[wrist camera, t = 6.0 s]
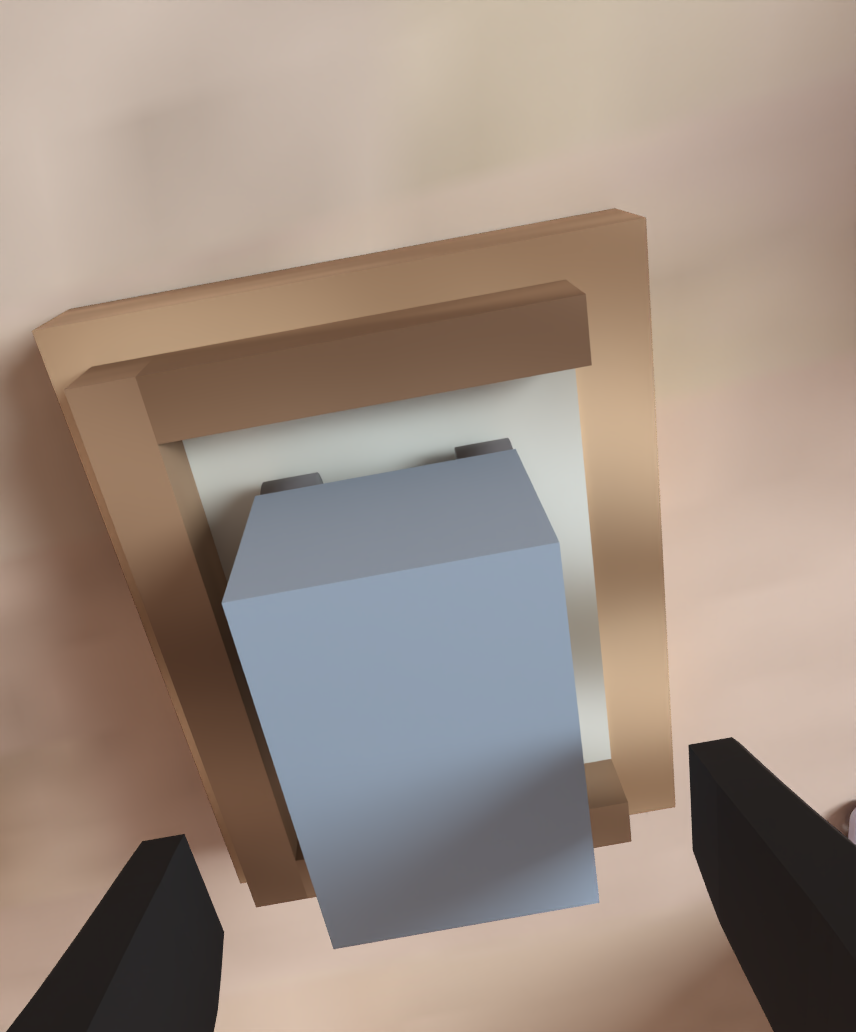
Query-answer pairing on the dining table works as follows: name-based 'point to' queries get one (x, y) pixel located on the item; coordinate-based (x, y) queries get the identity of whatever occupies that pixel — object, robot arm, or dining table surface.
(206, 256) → the dining table surface
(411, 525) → the blue block with feet
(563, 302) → the dock
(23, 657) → the dining table surface
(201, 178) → the dining table surface
